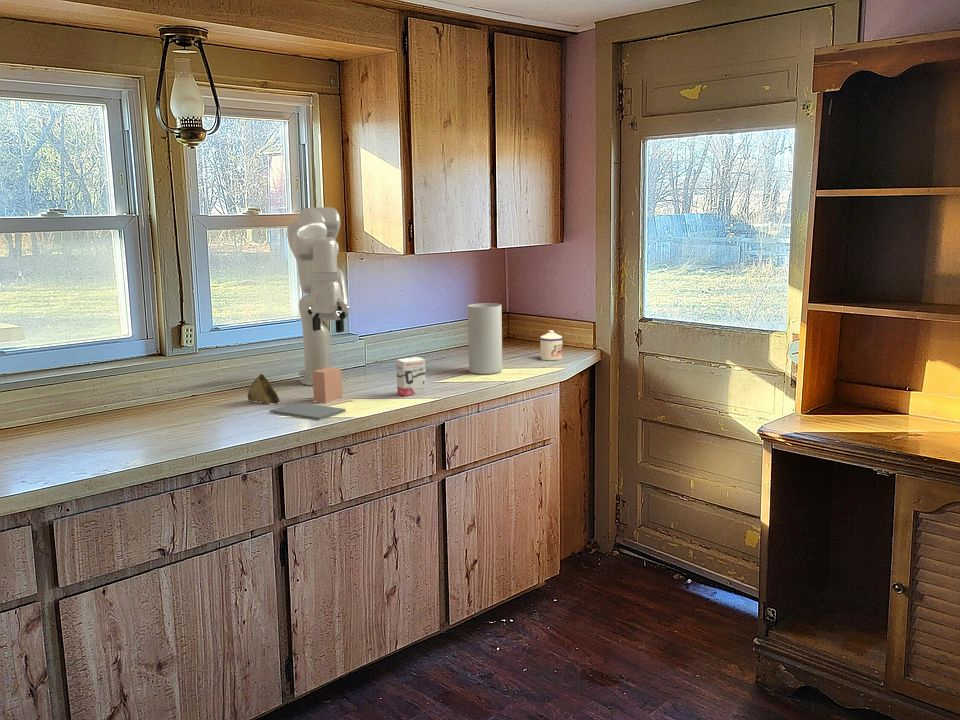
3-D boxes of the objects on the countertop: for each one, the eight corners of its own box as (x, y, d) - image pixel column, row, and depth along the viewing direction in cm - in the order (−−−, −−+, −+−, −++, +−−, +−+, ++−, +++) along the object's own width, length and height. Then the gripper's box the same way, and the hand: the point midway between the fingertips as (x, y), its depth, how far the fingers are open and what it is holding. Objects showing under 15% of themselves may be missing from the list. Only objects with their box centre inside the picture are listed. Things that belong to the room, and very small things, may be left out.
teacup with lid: (553, 361, 341) (553, 332, 339) (535, 359, 347) (535, 330, 345) (571, 357, 350) (571, 329, 348) (552, 355, 356) (552, 327, 354)
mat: (270, 412, 265) (269, 410, 265) (297, 404, 275) (297, 402, 275) (319, 420, 255) (318, 417, 255) (345, 411, 265) (345, 408, 265)
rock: (238, 394, 281) (246, 396, 272) (251, 372, 283) (260, 372, 275) (266, 411, 286) (275, 412, 277) (279, 388, 288) (288, 389, 279)
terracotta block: (314, 401, 279) (312, 371, 278) (330, 396, 286) (329, 367, 284) (325, 403, 277) (324, 372, 275) (342, 398, 283) (340, 368, 282)
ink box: (404, 396, 284) (402, 361, 282) (396, 394, 288) (395, 359, 286) (426, 393, 289) (425, 358, 286) (419, 390, 293) (418, 356, 291)
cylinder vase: (506, 373, 319) (505, 306, 315) (473, 375, 316) (472, 307, 312) (497, 367, 331) (496, 302, 327) (465, 369, 328) (464, 304, 324)
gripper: (297, 278, 276) (300, 331, 279) (339, 279, 267) (341, 334, 270) (313, 276, 282) (315, 328, 285) (354, 277, 273) (356, 331, 276)
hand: (328, 331), depth 278 cm, fingers open, 9 cm apart
